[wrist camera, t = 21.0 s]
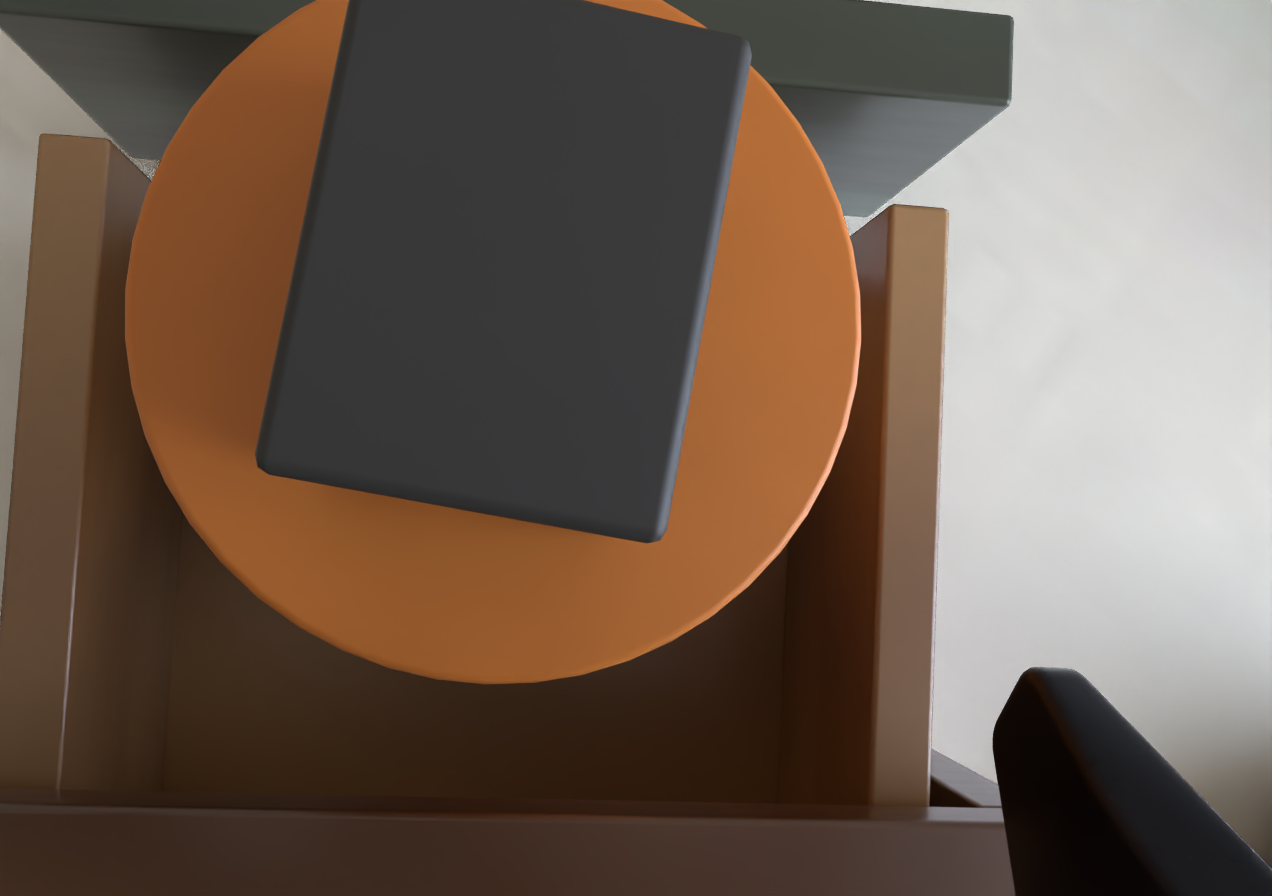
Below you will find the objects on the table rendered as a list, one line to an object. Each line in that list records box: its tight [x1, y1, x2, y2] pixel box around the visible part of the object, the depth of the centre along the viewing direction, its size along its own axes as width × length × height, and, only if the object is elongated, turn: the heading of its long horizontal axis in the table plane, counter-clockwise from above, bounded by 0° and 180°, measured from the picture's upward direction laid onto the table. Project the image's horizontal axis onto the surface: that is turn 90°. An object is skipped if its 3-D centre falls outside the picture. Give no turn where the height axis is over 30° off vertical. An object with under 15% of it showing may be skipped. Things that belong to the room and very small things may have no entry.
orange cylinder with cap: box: [125, 0, 861, 684], centre depth 12 cm, size 5×5×13 cm
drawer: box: [0, 0, 1014, 807], centre depth 17 cm, size 17×12×6 cm
